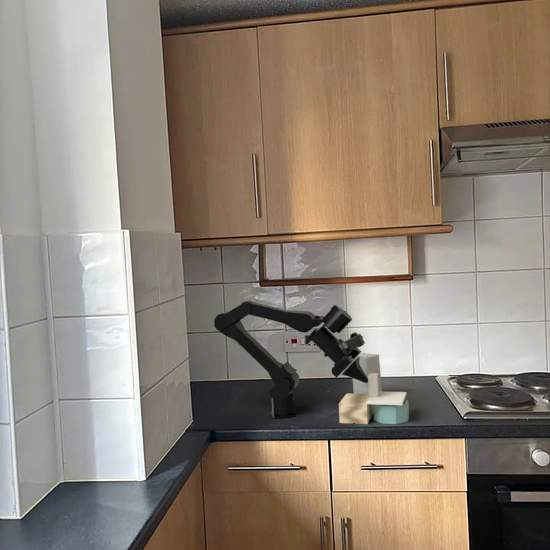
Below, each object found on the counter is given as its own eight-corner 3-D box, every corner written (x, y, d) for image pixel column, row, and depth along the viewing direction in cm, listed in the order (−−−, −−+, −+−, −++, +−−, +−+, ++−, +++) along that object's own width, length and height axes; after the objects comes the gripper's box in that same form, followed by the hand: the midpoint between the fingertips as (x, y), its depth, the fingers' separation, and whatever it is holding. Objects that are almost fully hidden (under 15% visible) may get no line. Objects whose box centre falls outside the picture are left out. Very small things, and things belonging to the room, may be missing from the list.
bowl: (372, 423, 168) (371, 405, 168) (377, 413, 177) (376, 397, 177) (406, 424, 165) (406, 406, 165) (409, 415, 174) (409, 398, 174)
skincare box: (383, 399, 193) (381, 354, 193) (369, 403, 190) (367, 357, 189) (365, 395, 200) (363, 351, 200) (352, 398, 197) (350, 354, 196)
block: (339, 422, 170) (338, 403, 169) (347, 411, 181) (346, 393, 181) (367, 424, 167) (366, 404, 167) (373, 412, 179) (373, 394, 178)
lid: (366, 404, 167) (365, 378, 167) (372, 393, 178) (371, 369, 178) (402, 405, 164) (401, 379, 164) (406, 394, 175) (405, 370, 175)
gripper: (340, 329, 165) (382, 369, 162) (352, 321, 182) (390, 356, 180) (314, 357, 167) (355, 397, 164) (329, 346, 185) (365, 382, 182)
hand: (368, 381), depth 173 cm, fingers closed, pressing on lid
